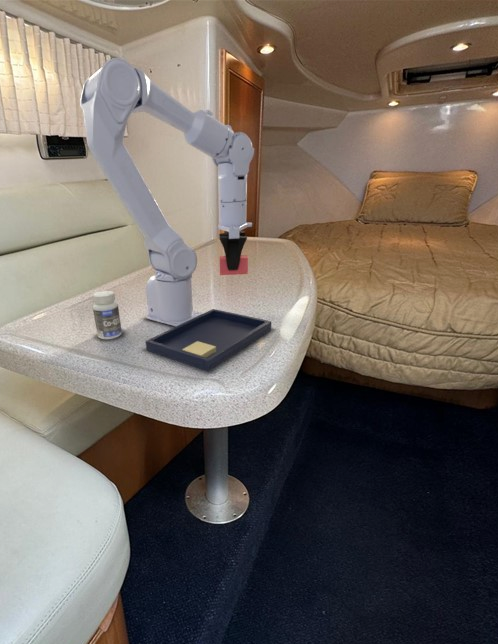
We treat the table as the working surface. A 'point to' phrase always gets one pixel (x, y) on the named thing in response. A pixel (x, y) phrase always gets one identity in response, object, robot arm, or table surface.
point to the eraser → (241, 270)
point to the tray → (209, 337)
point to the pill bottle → (106, 315)
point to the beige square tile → (201, 349)
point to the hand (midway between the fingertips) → (232, 267)
